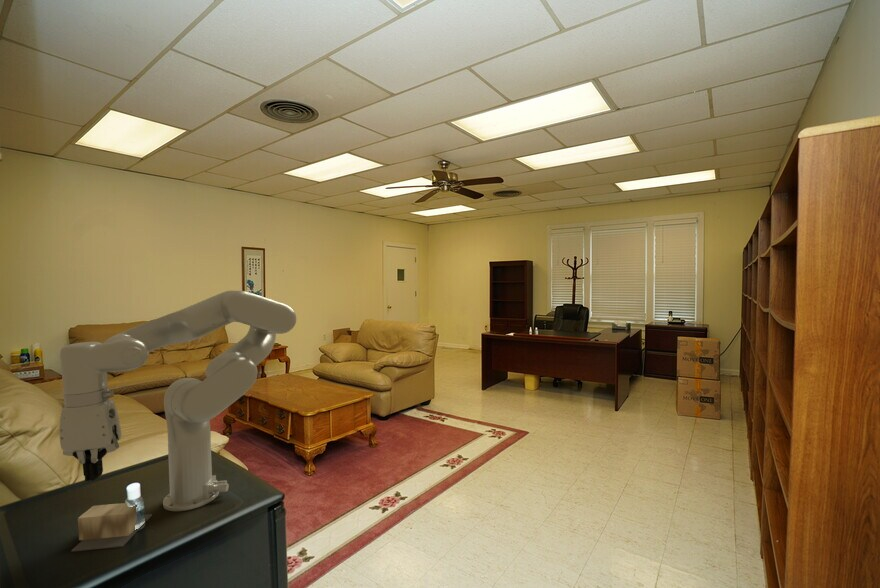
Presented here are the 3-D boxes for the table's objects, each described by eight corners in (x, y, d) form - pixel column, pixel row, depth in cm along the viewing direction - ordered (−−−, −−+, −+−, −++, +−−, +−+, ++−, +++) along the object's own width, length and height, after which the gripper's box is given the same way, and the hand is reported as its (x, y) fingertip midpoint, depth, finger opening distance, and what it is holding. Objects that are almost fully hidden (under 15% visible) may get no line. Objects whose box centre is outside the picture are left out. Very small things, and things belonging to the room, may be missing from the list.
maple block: (93, 526, 96) (141, 522, 98) (78, 540, 91) (129, 535, 93) (92, 505, 96) (140, 501, 97) (77, 518, 91) (128, 513, 92)
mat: (152, 515, 101) (152, 514, 101) (122, 546, 89) (122, 545, 89) (107, 519, 100) (107, 517, 100) (71, 551, 88) (71, 550, 88)
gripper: (133, 390, 98) (139, 466, 99) (62, 395, 95) (69, 473, 97) (113, 400, 90) (120, 482, 91) (35, 406, 88) (43, 490, 89)
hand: (93, 477), depth 94 cm, fingers closed
